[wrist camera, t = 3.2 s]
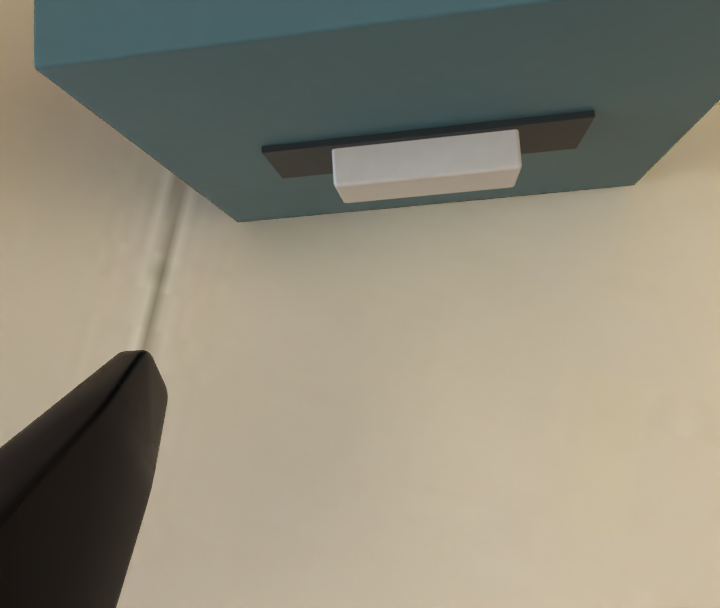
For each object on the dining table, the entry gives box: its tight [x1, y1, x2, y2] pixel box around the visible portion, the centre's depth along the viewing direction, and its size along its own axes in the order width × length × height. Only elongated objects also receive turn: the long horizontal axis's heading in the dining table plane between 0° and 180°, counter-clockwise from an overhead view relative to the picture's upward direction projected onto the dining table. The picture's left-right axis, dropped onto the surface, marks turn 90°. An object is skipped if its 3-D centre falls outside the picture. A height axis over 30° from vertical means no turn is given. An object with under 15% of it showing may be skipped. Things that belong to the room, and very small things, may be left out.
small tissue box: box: [34, 0, 720, 222], centre depth 14 cm, size 7×12×10 cm, turn 93°
